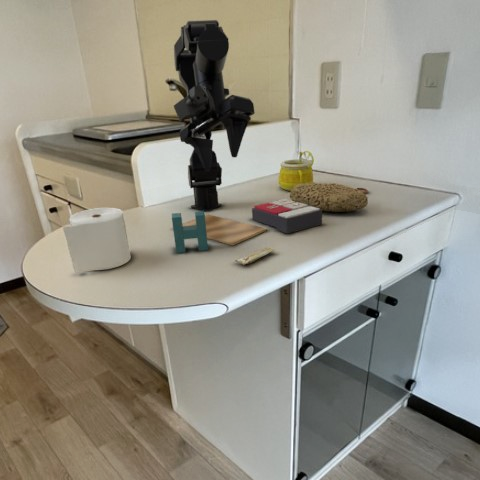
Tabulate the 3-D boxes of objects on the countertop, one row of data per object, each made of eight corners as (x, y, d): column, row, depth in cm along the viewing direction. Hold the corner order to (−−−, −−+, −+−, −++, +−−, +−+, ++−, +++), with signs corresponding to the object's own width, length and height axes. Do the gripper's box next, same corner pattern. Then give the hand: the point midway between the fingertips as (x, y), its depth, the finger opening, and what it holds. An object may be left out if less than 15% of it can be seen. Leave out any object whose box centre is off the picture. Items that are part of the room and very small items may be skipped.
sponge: (285, 212, 122) (340, 212, 107) (285, 183, 120) (341, 178, 105) (319, 211, 130) (374, 211, 114) (319, 183, 128) (376, 179, 112)
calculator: (284, 197, 118) (322, 206, 106) (285, 213, 120) (322, 224, 108) (250, 205, 113) (287, 215, 101) (251, 221, 115) (287, 233, 103)
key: (349, 206, 121) (375, 193, 131) (350, 202, 121) (376, 190, 130) (331, 201, 125) (358, 189, 134) (332, 198, 124) (359, 186, 133)
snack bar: (264, 247, 95) (274, 245, 93) (266, 254, 95) (276, 252, 93) (233, 260, 89) (243, 259, 87) (235, 267, 90) (245, 266, 87)
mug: (275, 185, 144) (275, 146, 138) (308, 183, 145) (309, 144, 139) (283, 195, 133) (283, 153, 127) (318, 192, 134) (320, 151, 128)
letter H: (176, 248, 99) (171, 213, 95) (207, 245, 100) (203, 210, 96) (176, 253, 96) (171, 217, 92) (208, 250, 97) (204, 214, 93)
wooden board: (174, 228, 111) (174, 226, 110) (208, 216, 118) (208, 214, 118) (232, 245, 99) (232, 243, 99) (266, 230, 106) (266, 228, 106)
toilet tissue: (135, 250, 99) (127, 206, 94) (124, 272, 89) (115, 224, 84) (88, 252, 99) (78, 208, 94) (72, 274, 89) (59, 226, 84)
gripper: (153, 98, 92) (164, 174, 94) (204, 55, 78) (216, 145, 79) (197, 107, 99) (206, 177, 101) (250, 68, 85) (261, 150, 86)
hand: (220, 163), depth 91 cm, fingers open, 9 cm apart
